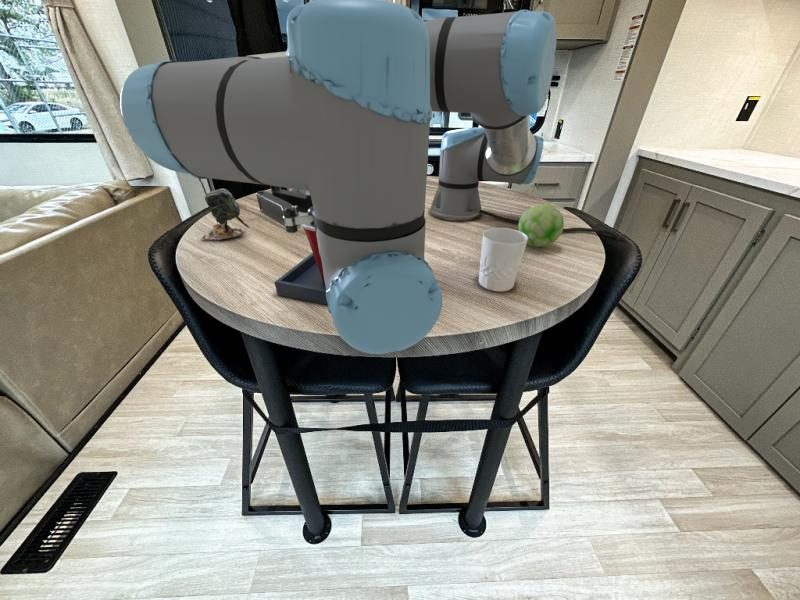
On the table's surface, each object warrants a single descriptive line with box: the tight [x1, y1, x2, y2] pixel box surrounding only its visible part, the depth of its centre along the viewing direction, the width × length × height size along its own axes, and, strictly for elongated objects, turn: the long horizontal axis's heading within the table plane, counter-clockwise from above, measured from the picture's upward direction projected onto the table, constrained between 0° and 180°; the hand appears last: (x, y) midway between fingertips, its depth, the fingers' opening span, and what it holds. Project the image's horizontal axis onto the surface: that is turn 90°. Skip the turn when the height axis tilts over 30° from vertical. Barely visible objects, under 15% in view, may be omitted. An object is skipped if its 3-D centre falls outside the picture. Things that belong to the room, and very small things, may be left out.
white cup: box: [478, 227, 528, 293], centre depth 61 cm, size 8×8×10 cm
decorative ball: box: [517, 203, 565, 248], centre depth 76 cm, size 10×10×10 cm
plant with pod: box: [197, 178, 250, 241], centre depth 78 cm, size 8×11×20 cm
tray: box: [274, 252, 328, 306], centre depth 63 cm, size 17×17×3 cm
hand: (331, 182), depth 50 cm, fingers open, 13 cm apart
